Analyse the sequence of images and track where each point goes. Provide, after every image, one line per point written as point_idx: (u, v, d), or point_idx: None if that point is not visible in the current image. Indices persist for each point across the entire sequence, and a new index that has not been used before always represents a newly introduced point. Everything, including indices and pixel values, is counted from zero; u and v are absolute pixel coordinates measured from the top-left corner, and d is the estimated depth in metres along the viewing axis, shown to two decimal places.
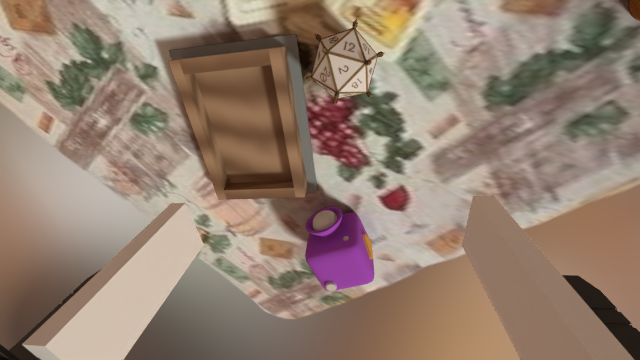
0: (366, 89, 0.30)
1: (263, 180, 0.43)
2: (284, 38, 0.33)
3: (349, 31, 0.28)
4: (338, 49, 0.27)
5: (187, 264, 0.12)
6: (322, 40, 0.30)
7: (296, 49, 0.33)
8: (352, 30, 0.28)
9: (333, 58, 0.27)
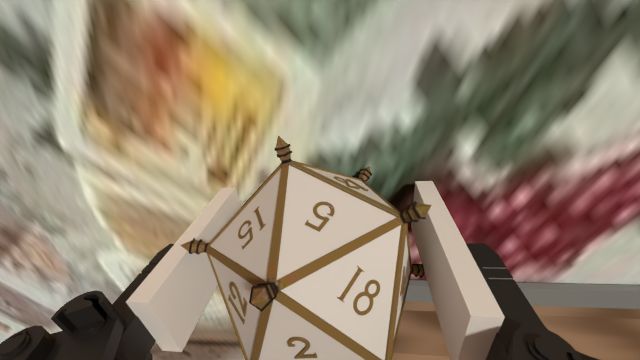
0: (392, 228, 0.07)
1: None
2: None
3: None
4: (244, 336, 0.08)
5: None
6: None
7: None
8: (209, 257, 0.09)
9: None
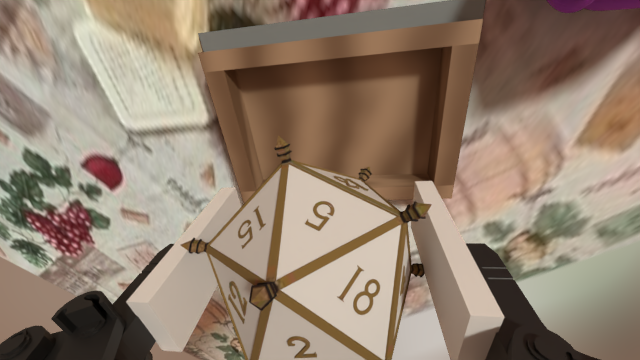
0: (392, 228, 0.07)
1: (431, 115, 0.24)
2: None
3: None
4: (244, 335, 0.08)
5: None
6: None
7: (216, 33, 0.23)
8: (209, 257, 0.09)
9: None
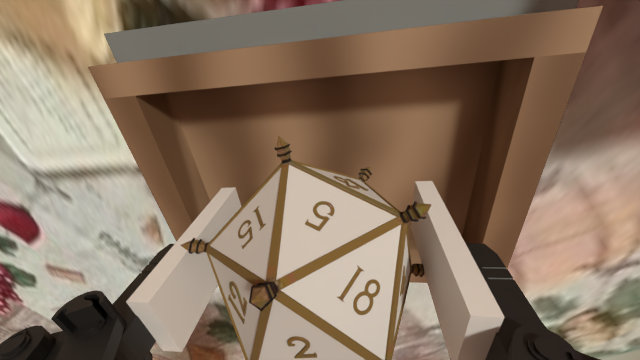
0: (392, 228, 0.07)
1: (475, 161, 0.15)
2: None
3: None
4: (244, 336, 0.08)
5: None
6: None
7: (132, 33, 0.14)
8: (209, 257, 0.09)
9: None
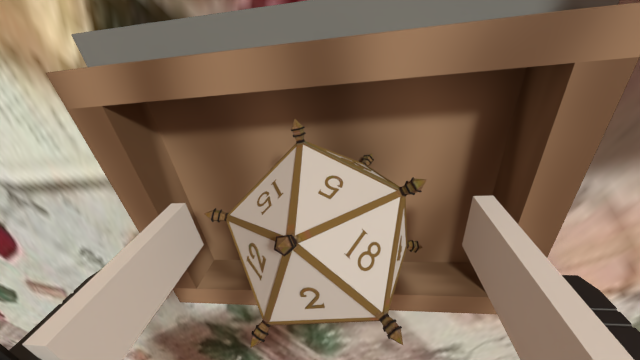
0: (392, 199, 0.09)
1: (492, 179, 0.13)
2: None
3: (232, 232, 0.10)
4: (260, 291, 0.09)
5: (187, 264, 0.12)
6: None
7: (102, 34, 0.12)
8: (229, 225, 0.10)
9: (280, 314, 0.09)
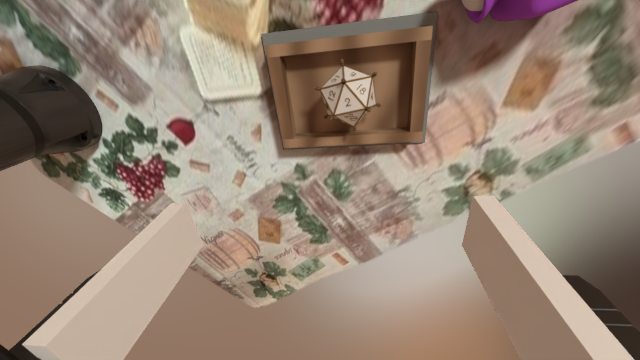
0: (369, 77, 0.33)
1: (408, 86, 0.37)
2: None
3: (321, 93, 0.34)
4: (332, 105, 0.33)
5: (187, 264, 0.12)
6: (328, 114, 0.37)
7: (273, 34, 0.37)
8: (321, 91, 0.34)
9: (338, 110, 0.33)
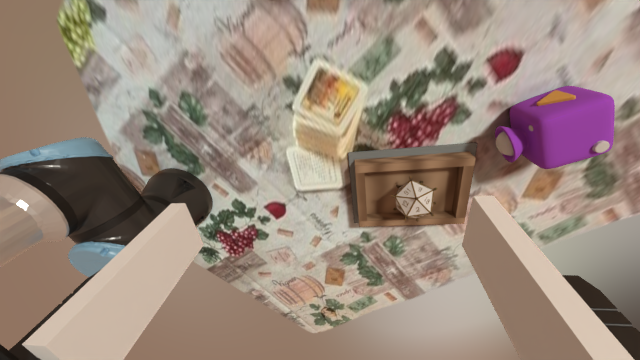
0: (431, 191, 0.47)
1: (454, 186, 0.52)
2: (350, 160, 0.52)
3: (396, 199, 0.49)
4: (405, 210, 0.48)
5: (187, 264, 0.12)
6: (397, 208, 0.52)
7: (356, 153, 0.51)
8: (396, 198, 0.49)
9: (410, 213, 0.48)
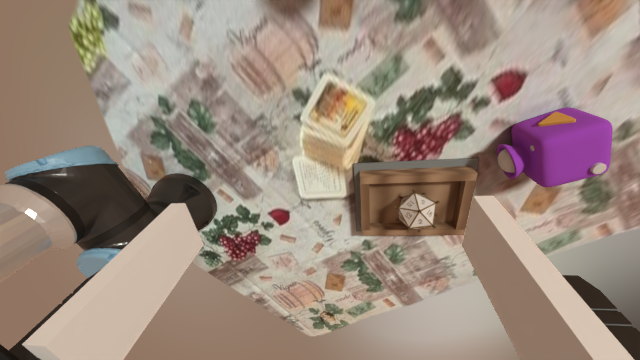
0: (434, 204, 0.49)
1: (455, 198, 0.53)
2: (355, 171, 0.53)
3: (399, 211, 0.50)
4: (408, 221, 0.49)
5: (187, 264, 0.12)
6: (400, 219, 0.53)
7: (362, 164, 0.52)
8: (399, 209, 0.50)
9: (413, 225, 0.49)
